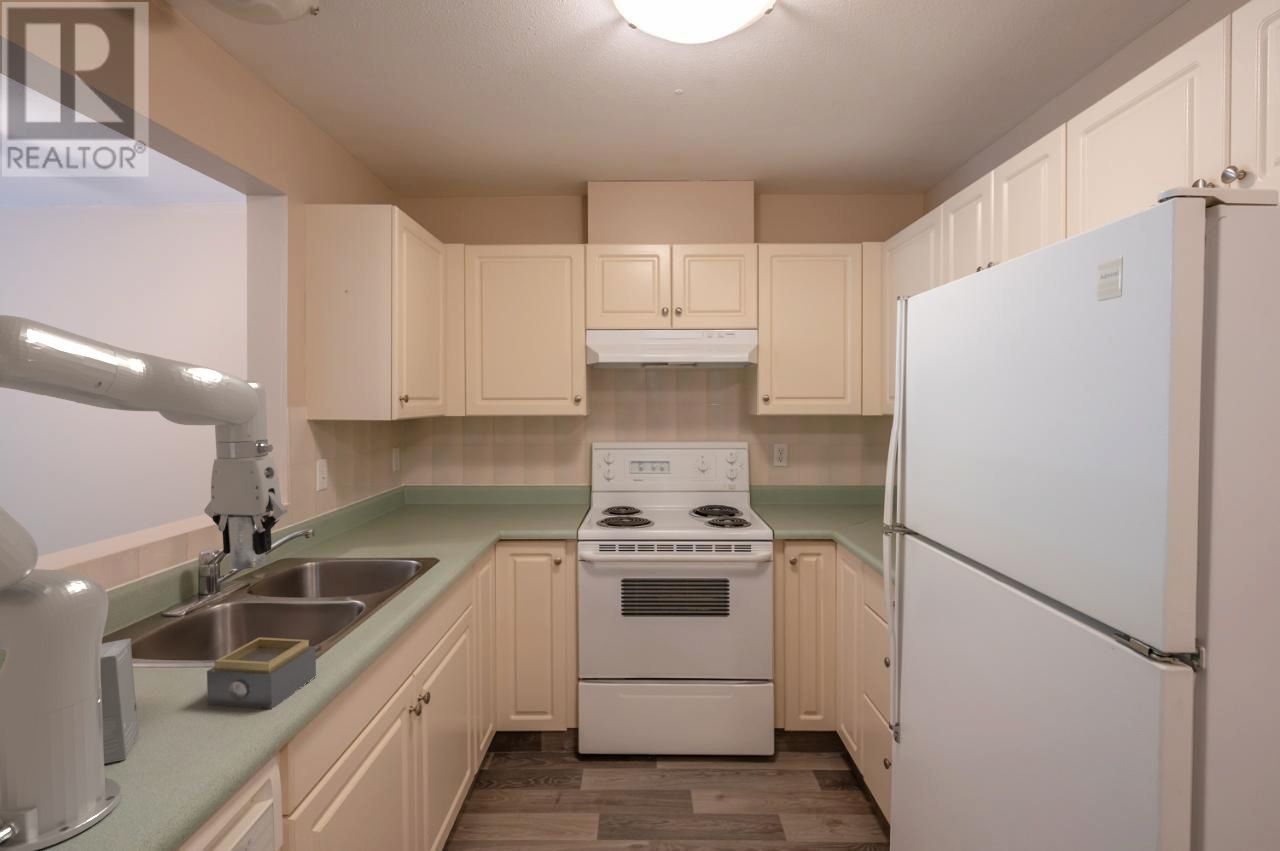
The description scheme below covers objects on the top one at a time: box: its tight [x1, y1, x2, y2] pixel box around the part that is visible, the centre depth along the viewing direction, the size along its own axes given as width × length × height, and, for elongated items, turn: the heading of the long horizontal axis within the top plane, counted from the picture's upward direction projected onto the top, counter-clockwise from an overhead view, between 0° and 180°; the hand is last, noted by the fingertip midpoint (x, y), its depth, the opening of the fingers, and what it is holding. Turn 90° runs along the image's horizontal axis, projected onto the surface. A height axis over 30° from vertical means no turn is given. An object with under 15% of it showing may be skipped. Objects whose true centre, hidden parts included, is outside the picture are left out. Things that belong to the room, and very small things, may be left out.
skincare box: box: [100, 637, 139, 765], centre depth 87 cm, size 8×7×16 cm
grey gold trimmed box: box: [206, 636, 317, 710], centre depth 106 cm, size 12×12×8 cm
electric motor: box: [228, 515, 267, 570], centre depth 104 cm, size 6×5×10 cm
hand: (247, 550), depth 103 cm, fingers closed on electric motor, 5 cm apart
